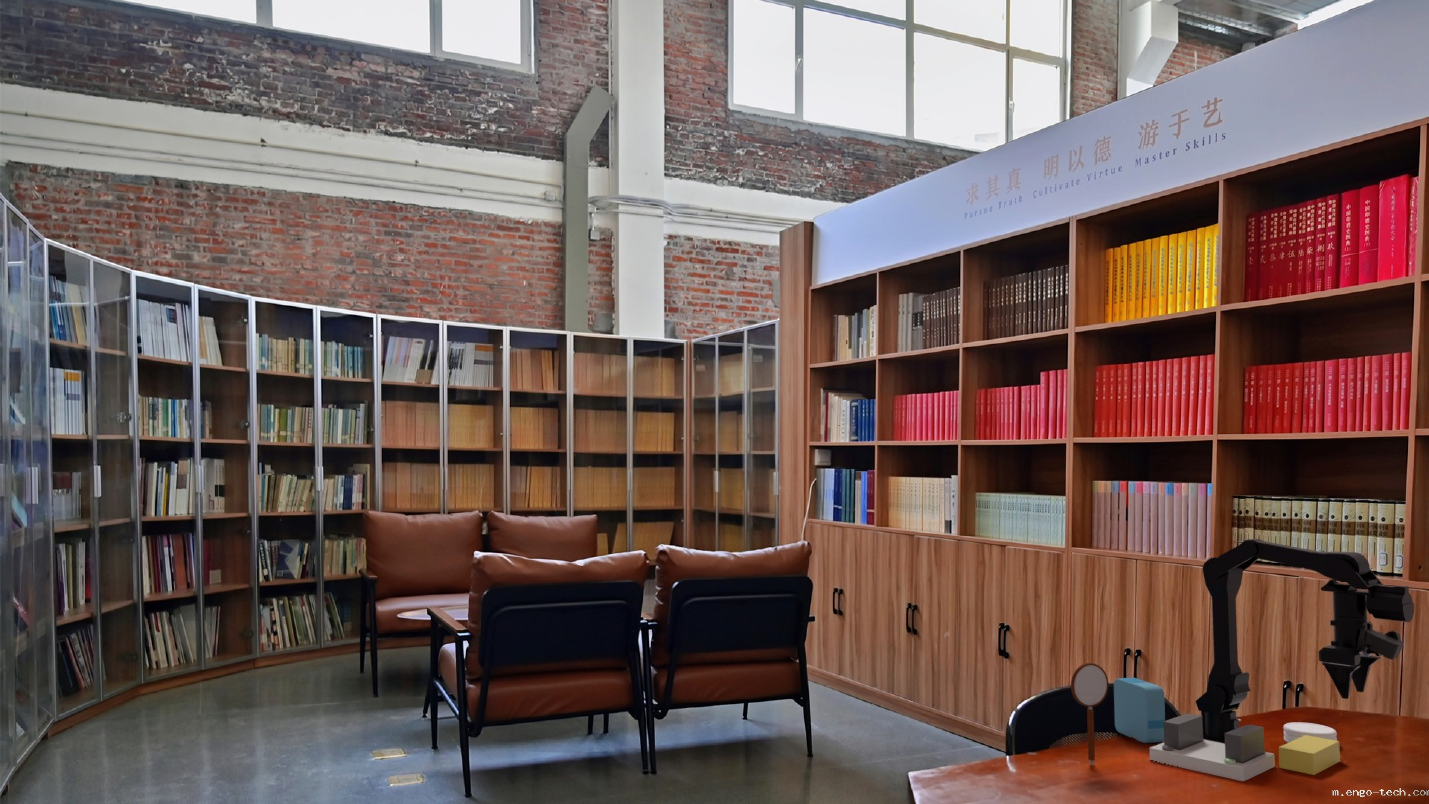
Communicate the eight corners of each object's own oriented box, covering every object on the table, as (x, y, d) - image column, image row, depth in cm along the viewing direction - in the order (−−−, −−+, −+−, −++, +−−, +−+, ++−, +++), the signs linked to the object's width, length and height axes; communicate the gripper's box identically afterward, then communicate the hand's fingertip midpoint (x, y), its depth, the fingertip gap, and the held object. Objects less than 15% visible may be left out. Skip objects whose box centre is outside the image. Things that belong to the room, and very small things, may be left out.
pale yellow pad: (1279, 767, 196) (1278, 747, 196) (1306, 754, 205) (1305, 735, 205) (1314, 774, 191) (1313, 753, 191) (1340, 761, 200) (1339, 741, 200)
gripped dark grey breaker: (1225, 761, 192) (1224, 733, 193) (1248, 751, 199) (1247, 724, 200) (1241, 764, 190) (1240, 736, 190) (1264, 754, 197) (1263, 727, 197)
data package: (1166, 744, 213) (1164, 687, 214) (1147, 745, 212) (1145, 688, 213) (1132, 730, 225) (1130, 676, 225) (1114, 731, 224) (1113, 677, 225)
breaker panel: (1149, 760, 200) (1149, 744, 200) (1183, 747, 210) (1182, 732, 210) (1243, 781, 187) (1242, 764, 187) (1274, 766, 196) (1274, 750, 197)
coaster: (1286, 735, 221) (1285, 719, 221) (1338, 742, 215) (1338, 726, 215) (1281, 745, 213) (1280, 728, 213) (1335, 753, 207) (1335, 735, 207)
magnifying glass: (1106, 761, 199) (1104, 661, 201) (1112, 764, 198) (1110, 662, 199) (1070, 765, 197) (1068, 663, 198) (1076, 768, 195) (1073, 664, 196)
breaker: (1164, 748, 201) (1163, 721, 202) (1188, 738, 208) (1187, 713, 209) (1179, 751, 199) (1178, 724, 199) (1203, 741, 206) (1202, 715, 207)
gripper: (1382, 625, 185) (1385, 710, 184) (1411, 616, 198) (1414, 695, 197) (1316, 618, 194) (1319, 699, 193) (1348, 610, 206) (1350, 686, 205)
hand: (1352, 695), depth 196 cm, fingers open, 9 cm apart
